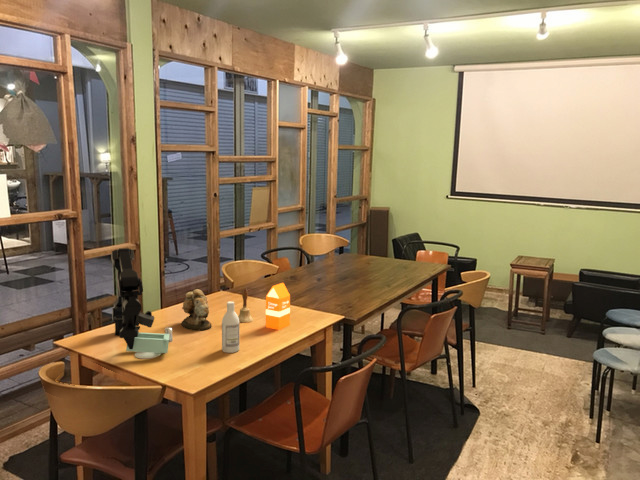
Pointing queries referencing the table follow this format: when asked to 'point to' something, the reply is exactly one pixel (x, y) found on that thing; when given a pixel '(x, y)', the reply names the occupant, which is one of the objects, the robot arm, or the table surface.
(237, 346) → the bath foam
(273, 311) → the orange juice
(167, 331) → the peg
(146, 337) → the c link
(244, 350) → the table surface
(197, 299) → the owl figurine
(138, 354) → the cream oval dome
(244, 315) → the hand bell
